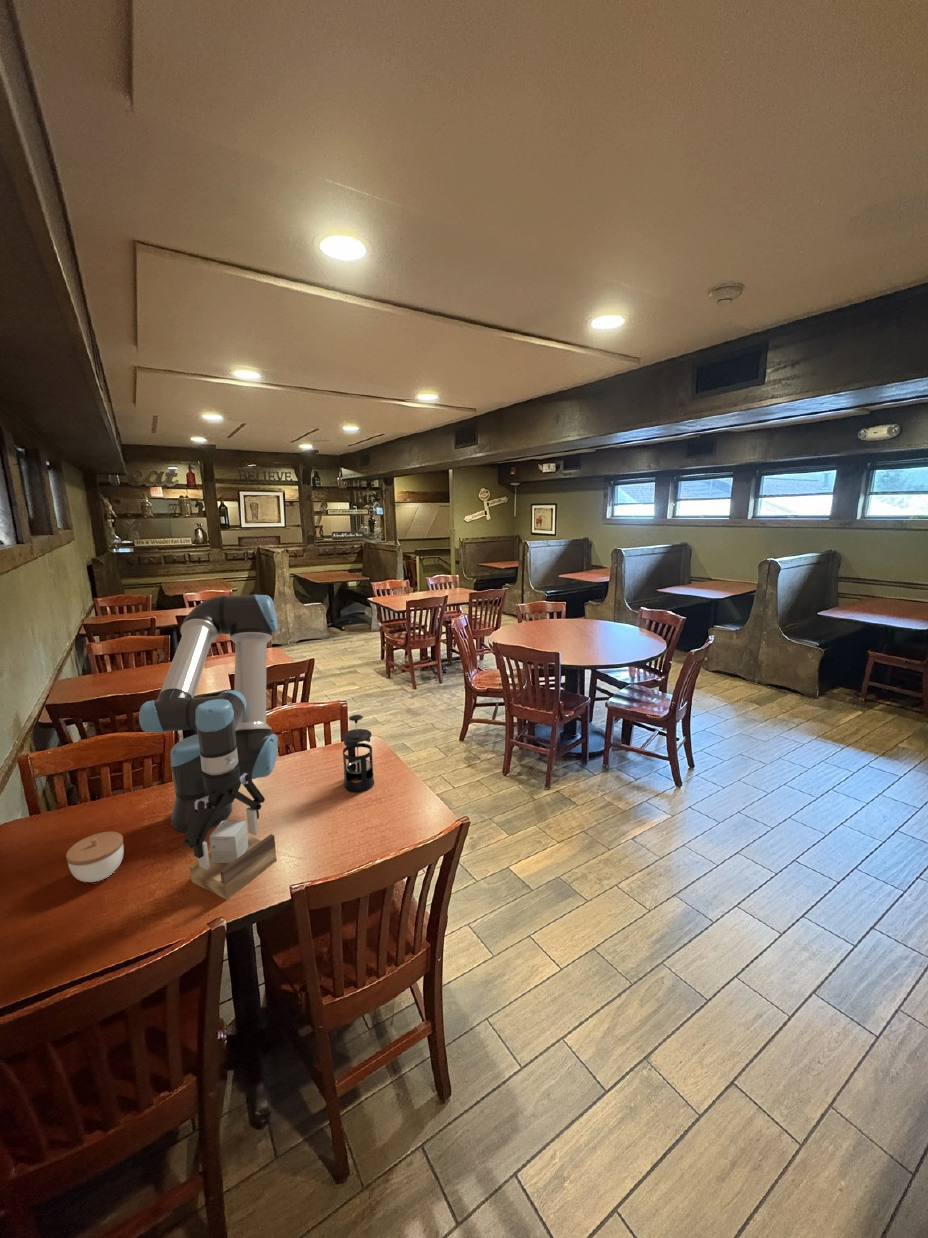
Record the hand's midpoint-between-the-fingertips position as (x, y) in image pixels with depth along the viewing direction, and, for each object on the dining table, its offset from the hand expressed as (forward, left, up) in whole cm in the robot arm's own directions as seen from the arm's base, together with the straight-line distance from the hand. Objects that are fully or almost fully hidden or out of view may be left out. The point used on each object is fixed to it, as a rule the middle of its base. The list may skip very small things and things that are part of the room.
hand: (230, 849), depth 116 cm
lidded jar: (-27, -15, -6) cm, 31 cm away
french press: (+3, +44, -6) cm, 44 cm away
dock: (+1, 0, -6) cm, 6 cm away
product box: (0, 0, -2) cm, 2 cm away
